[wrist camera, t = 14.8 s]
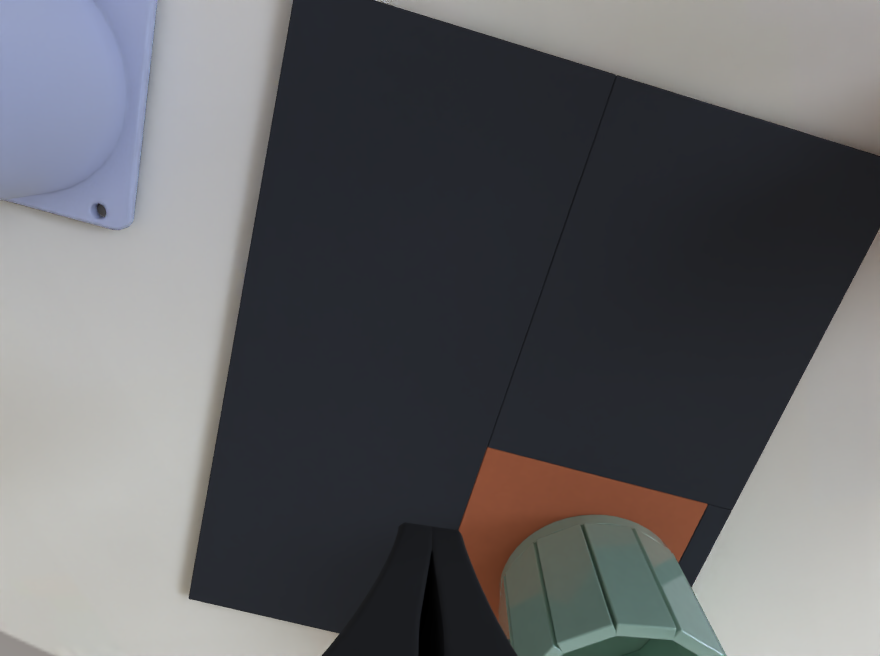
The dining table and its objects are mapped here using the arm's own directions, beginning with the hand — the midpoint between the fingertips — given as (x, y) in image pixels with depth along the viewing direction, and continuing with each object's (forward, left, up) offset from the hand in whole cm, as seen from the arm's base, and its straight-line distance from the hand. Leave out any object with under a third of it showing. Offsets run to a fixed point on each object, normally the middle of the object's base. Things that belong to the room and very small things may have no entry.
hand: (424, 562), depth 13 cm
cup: (+9, -7, -9) cm, 14 cm away
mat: (+3, 0, -9) cm, 10 cm away
